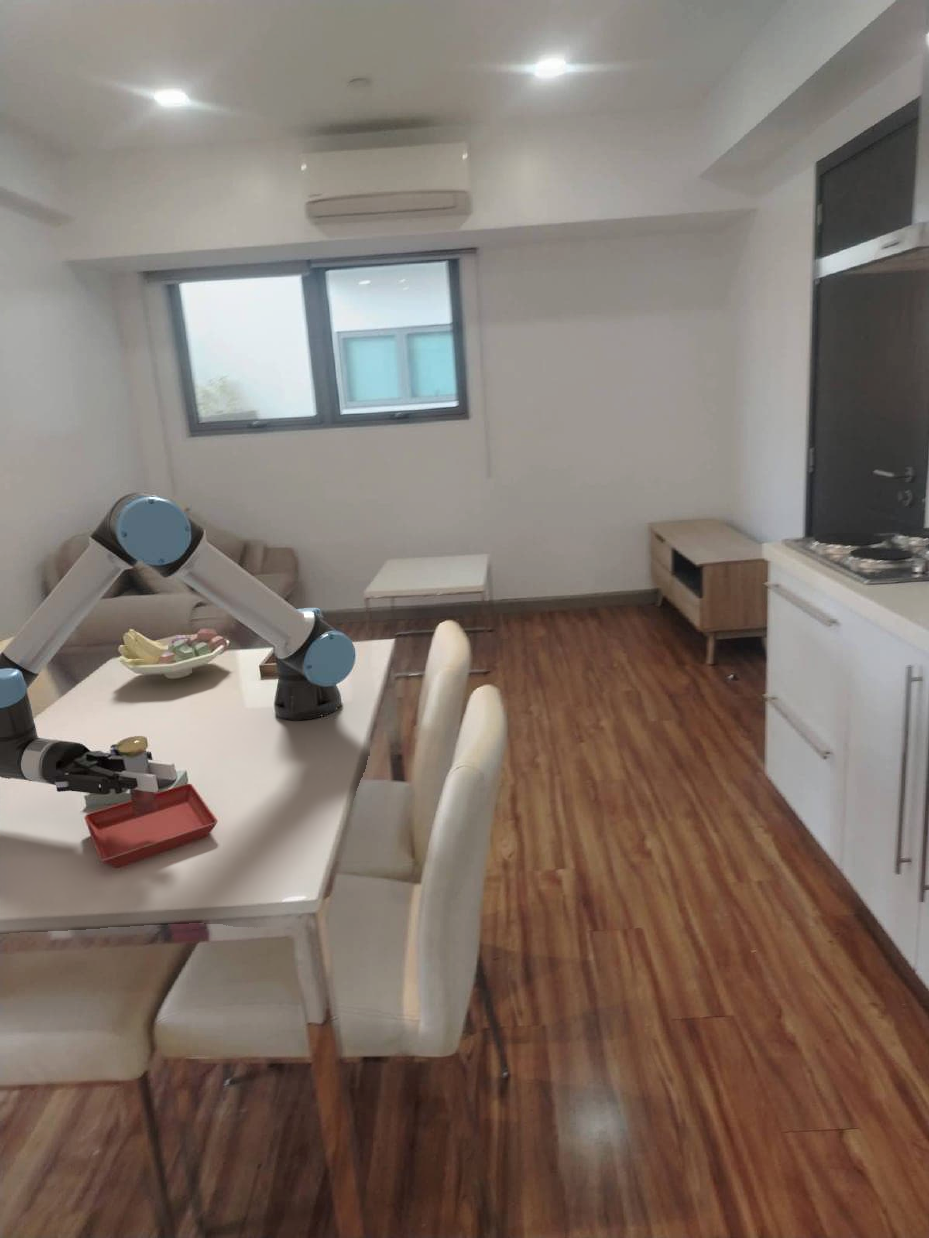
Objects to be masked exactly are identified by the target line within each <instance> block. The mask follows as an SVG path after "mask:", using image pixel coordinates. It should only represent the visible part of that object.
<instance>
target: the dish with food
mask: <svg viewBox="0 0 929 1238" xmlns="http://www.w3.org/2000/svg"><path fill="white" fill-rule="evenodd" d="M122 639H123V643H124V644H123V645H122V644H121V645H119V646H118V648H117V650H118V652H119V653H120V654H121V656H119V657H117V661H119V662H120V663H121V664H122V666H124V667H126V668H128V670H130V671H132V672H133V673H135V674H138V675H164V676H165V678H167V679H181V678H184V677H187V676H189V675H190V674H192V673H193V669H195V668H199V667H203V666H206V665H207V664H208V663H210V662H212V661H213V660H215V658H217V657H218V656H221V655H222V654H224V653H225V652H226V651H228V646H229V643H230V640H228V639H225V637H224V636H221V635H218V633H217V631H216V630H215V628H200V630H199V631H197V633H194V634H193V633H192V634H178V635H177V634H176V635H173V636H168V637H164V638H161V639H160V638H159V639H157V640H152V639H149V638H147V637H146V636H145V635H143V634H141V633H140V632H137V631H135V630H134V629H132V628H131V629H129V630H128V632H124V634H123V636H122Z"/></svg>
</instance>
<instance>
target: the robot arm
mask: <svg viewBox="0 0 929 1238" xmlns="http://www.w3.org/2000/svg"><path fill="white" fill-rule="evenodd" d="M206 533H207V532H206V530H205V529H204V528H203V527H202V526H201V525H199V524H198V523H197V522H196V521H194V520H193V519H192V518H190V517H189V516H188V515H186V513H185V512H184V511H183V509H182V508H181V507H180V506H178V504H176V503H175V502H173V501H171V500H169V499H168V498H165V497H162V496H157V495H154V494H151V493H148V492H133V493H129V494H126V495H123V496H122V497H120V498H119V499H118V500H117V501H116V502H114V503H113V504H112V506H111V507H110V508H109V510H108V511H107V513H106V515H105V516H104V517H103V519H102V520H101V521H100V523H99V524H98V525H97V527H96V528H95V530H94V531H93V532H92V533H91V534H90V535H89V537H88V541H89V545H88V547H87V548H86V549H85V551H84V552H83V553H82V554H81V556H80V557H79V558H78V559H77V560H76V561H75V563H74V564H73V565H72V567H71V568H70V569H68V571H67V573H66V574H64V576H63V577H62V579H60V581H59V582H58V583H57V585H56V586H55V587H54V588H53V590H52V591H51V592H50V593H49V594H48V596H47V597H46V598H45V599H44V600H43V601H42V603H41V604H40V605H39V606H38V607H37V609H36V610H35V611H34V613H33V614H32V615H30V617H29V618H28V620H27V621H26V622H25V623H24V624H23V626H22V627H21V628H20V629H19V631H18V632H17V633H16V634H15V635H14V637H13V638H12V639H11V640H10V641H9V643H7V645H6V646H5V648H4V649H3V650H2V651H1V653H0V778H2V779H8V780H10V779H14V780H15V779H16V780H22V781H28V782H36V783H42V784H47V785H54V786H55V788H56V791H57V792H59V793H60V792H78V793H85V794H86V793H94V794H103V795H105V794H109V793H110V790H111V789H114V790H115V794H120V793H122V792H123V790H122V788H126V789H135V790H142V791H149V792H157V791H158V786H157V781H156V778H162V779H169V780H175V779H176V778H177V776H176V771H177V770H176V766H175V763H174V762H168V761H161V760H154V759H153V755H152V752H151V751H148V750H146V754H147V758H148V763H149V768H150V773H151V774H145V773H138V772H130V771H125V766H124V762H123V757H122V755H121V754H119V753H118V750H117V743H115V744H114V743H113V744H112V745H110V749H109V750H107V751H104V752H103V751H102V750H90V749H89V748H88V747H87V746H86V745H84V744H83V743H80V742H75V741H74V742H73V741H68V740H67V741H66V740H61V739H51V738H50V739H49V738H44V737H38V732H37V726H36V724H35V720H34V715H33V711H32V706H31V705H32V704H31V702H30V697H29V693H28V689H29V687H30V686H31V685H32V684H33V683H34V681H35V680H36V679H37V678H38V676H39V675H40V673H41V672H42V671H43V669H44V668H45V667H46V666H47V665H48V664H49V662H50V661H51V660H52V659H53V657H54V656H56V654H57V653H58V651H60V649H61V648H62V647H63V645H64V644H65V642H66V641H67V640H68V639H69V638H70V637H71V635H72V634H73V633H74V632H75V631H76V629H77V628H78V627H79V626H80V624H81V623H82V622H83V621H84V620H85V618H86V617H87V615H89V613H90V612H91V611H92V610H93V608H94V607H95V606H96V605H97V603H98V602H99V601H100V600H101V599H102V598H103V596H104V595H105V594H106V593H107V591H108V590H109V589H110V588H111V586H112V585H113V584H114V583H115V582H116V580H117V579H118V577H120V575H121V574H122V573H123V572H124V571H125V570H130V569H133V568H134V567H136V564H137V563H138V562H141V563H142V564H144V565H145V566H147V567H148V568H149V569H151V570H153V571H154V572H155V573H157V574H158V575H160V576H161V577H162V578H164V579H165V580H167V579H172V578H173V579H174V578H175V579H176V578H179V580H181V581H182V582H184V583H185V584H187V585H188V586H189V587H191V588H192V589H194V590H195V591H196V592H198V593H199V594H200V595H202V596H203V597H204V598H206V599H208V600H209V601H211V602H212V603H213V604H214V605H216V606H218V607H219V608H220V609H222V610H223V611H224V612H226V613H227V614H229V615H230V616H231V617H233V618H234V619H235V620H237V621H239V622H240V623H241V624H243V625H244V626H246V627H247V628H249V629H250V630H251V631H253V632H254V633H256V634H257V635H258V636H260V637H261V638H263V639H264V640H265V641H266V642H268V643H269V644H271V645H272V649H273V651H274V657H275V663H276V669H277V675H276V676H277V683H276V689H275V690H276V691H275V695H274V700H273V701H274V702H273V706H274V714H275V715H276V716H277V717H278V718H279V719H282V720H283V719H284V720H287V719H289V720H288V721H303V720H302V719H307V720H313V719H317V718H316V717H318V718H320V717H319V716H321V715H324V716H326V715H325V714H327V713H329V712H332V711H334V710H335V709H336V708H338V707H339V706H340V705H341V706H342V704H341V702H342V695H341V691H340V689H339V688H338V685H337V684H340V683H341V682H343V681H344V680H345V679H346V678H347V677H348V676H349V675H350V673H351V672H352V670H353V668H354V666H355V663H356V659H357V658H356V656H357V655H356V648H355V645H354V643H353V641H352V640H351V639H350V637H349V636H348V635H347V634H345V633H344V632H341V631H338V630H336V629H335V628H334V627H333V626H331V625H330V624H329V623H327V622H326V621H325V620H324V615H323V614H322V610H321V608H318V607H305V608H297V609H296V608H295V607H294V606H293V605H292V604H290V603H289V602H287V601H286V600H285V599H283V598H282V597H281V596H280V595H278V594H277V593H275V592H274V591H273V590H271V589H270V588H269V587H267V586H266V585H265V584H264V583H262V582H261V581H260V580H259V579H257V578H256V577H255V576H253V575H252V574H251V573H249V572H248V571H247V570H245V569H244V568H243V567H241V566H240V565H239V564H237V563H236V562H235V561H233V560H232V559H230V558H229V557H228V556H227V555H225V553H223V552H221V551H220V550H219V549H217V548H216V547H214V545H212V544H211V543H210V542H208V540H207V534H206ZM342 703H343V702H342ZM341 706H340V707H341ZM340 707H339V708H340ZM339 708H338V709H339ZM335 711H336V710H335ZM335 711H334V712H335ZM332 713H333V712H332ZM327 715H328V714H327ZM321 717H322V716H321ZM312 718H313V719H312ZM175 770H176V771H175ZM117 772H121V776H119V773H117ZM99 785H100V786H101V788H100V787H99Z"/></svg>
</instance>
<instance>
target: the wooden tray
mask: <svg viewBox="0 0 929 1238" xmlns="http://www.w3.org/2000/svg"><path fill="white" fill-rule="evenodd" d="M258 668H259V674H260V677H270V676H271V677H274V676H277V669H276V663H275V657H274V651H273V648H272V649H271V651H270V652H268V653H267V655H266V656H265V658H264V659H263V660H262V661H261V662H260V664H259V665H258Z"/></svg>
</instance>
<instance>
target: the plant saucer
mask: <svg viewBox="0 0 929 1238" xmlns="http://www.w3.org/2000/svg"><path fill="white" fill-rule="evenodd" d="M155 798H156V803H157V809H156V810H154V811H153V812H151V813H148V814H144V815H137V814H135V813H134V809H133V804H132V801H128V802H125V803H122V804H114V805H112V806H110V807H106V808H103V809H100V810H96V811H92V812H89V813H87V814H85V815H84V821H85V823H86V825H87V828H88V831H89V835H90V837H91V839H92V841H93V844H94V846H95V850H96V852H97V856H98V857H99V860H100V861H101V862H102V863H104V864H107V865H108V866H111V867H113V868H120V867H123V866H126V865H129V864H131V863H135V862H136V861H137V862H139V860H143V859H146V858H148V857H152V856H154V855H157V854H160V853H163V852H167V851H169V850H172V849H174V848H178V847H180V846H183V845H187V844H189V843H193V842H195V841H198V840H201V839H204V838H206V837H207V836H208V835H209V834H210V833H211V832H212V830H213V829H215V826H217V825H216V824H217V823H218V819H217V817H216V816H215V814H214V813H213V812H212V810H211V809H210V808H209V806H208V805H207V804H206V802H205V801H204V799H203V797H201V795H200V794H199V792H198V791H197V789H196V788H195V787H194V785H193V784H192V783H185V785H181V786H178V787H175V788H172V789H168V790H165V791H162V792H158V793H155Z"/></svg>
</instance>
